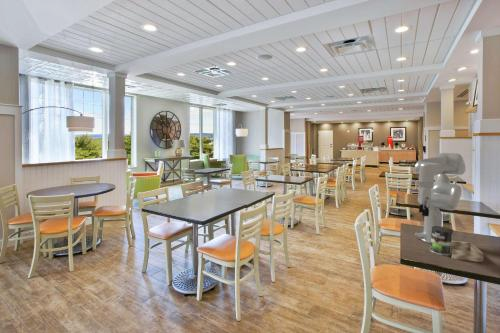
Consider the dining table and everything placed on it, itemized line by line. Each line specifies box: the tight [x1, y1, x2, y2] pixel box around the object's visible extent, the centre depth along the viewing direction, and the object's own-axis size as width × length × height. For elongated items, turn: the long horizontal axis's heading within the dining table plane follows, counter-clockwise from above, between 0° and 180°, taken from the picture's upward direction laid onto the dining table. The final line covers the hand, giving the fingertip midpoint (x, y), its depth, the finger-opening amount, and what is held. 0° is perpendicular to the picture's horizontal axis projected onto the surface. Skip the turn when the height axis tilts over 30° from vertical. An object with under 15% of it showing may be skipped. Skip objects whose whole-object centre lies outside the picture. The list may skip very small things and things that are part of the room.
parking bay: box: [451, 240, 485, 263], centre depth 159 cm, size 14×16×5 cm
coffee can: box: [429, 225, 454, 256], centre depth 162 cm, size 10×10×14 cm
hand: (423, 214), depth 163 cm, fingers open, 7 cm apart
